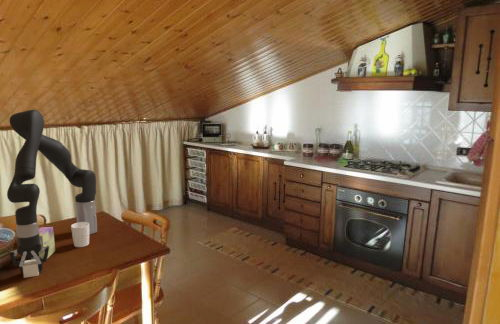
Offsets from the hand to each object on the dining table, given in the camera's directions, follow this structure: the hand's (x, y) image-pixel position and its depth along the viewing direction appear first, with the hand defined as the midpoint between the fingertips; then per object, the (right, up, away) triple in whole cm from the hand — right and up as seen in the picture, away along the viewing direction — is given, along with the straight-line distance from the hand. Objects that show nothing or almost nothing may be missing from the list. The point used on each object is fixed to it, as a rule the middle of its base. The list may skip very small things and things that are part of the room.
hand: (32, 272), depth 146 cm
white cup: (+7, +5, +28) cm, 29 cm away
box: (-4, +2, +15) cm, 16 cm away
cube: (0, -1, 0) cm, 0 cm away
